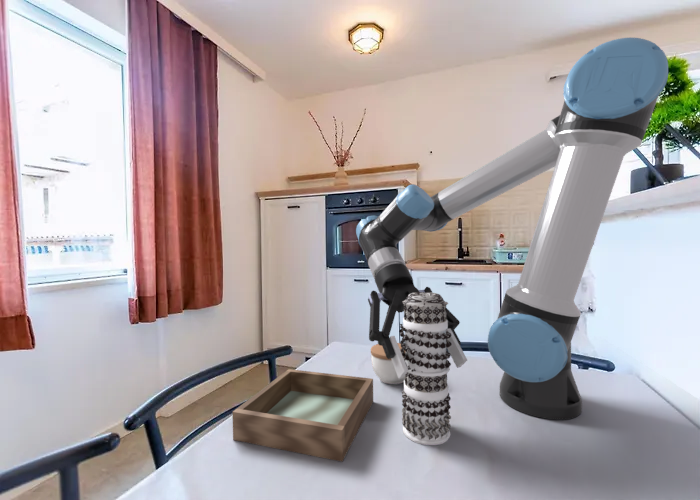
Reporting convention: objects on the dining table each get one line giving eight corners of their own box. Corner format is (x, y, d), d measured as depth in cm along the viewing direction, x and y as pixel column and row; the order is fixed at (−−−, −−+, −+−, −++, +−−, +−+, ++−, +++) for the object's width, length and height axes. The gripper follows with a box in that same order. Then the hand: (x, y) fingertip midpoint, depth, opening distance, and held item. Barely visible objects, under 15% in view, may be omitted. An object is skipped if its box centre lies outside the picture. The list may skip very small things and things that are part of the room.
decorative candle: (390, 432, 59) (388, 294, 59) (416, 412, 66) (415, 289, 66) (436, 454, 53) (435, 300, 53) (460, 429, 60) (459, 293, 60)
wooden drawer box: (373, 401, 71) (372, 378, 71) (342, 461, 52) (341, 430, 52) (288, 390, 77) (288, 369, 77) (233, 439, 58) (232, 411, 58)
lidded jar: (413, 390, 76) (413, 350, 76) (368, 386, 79) (367, 347, 78) (414, 372, 87) (413, 337, 87) (373, 369, 89) (373, 335, 89)
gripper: (429, 281, 78) (477, 368, 64) (334, 287, 69) (365, 390, 55) (443, 259, 73) (498, 349, 59) (342, 263, 64) (378, 369, 50)
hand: (434, 369), depth 57 cm, fingers open, 11 cm apart
